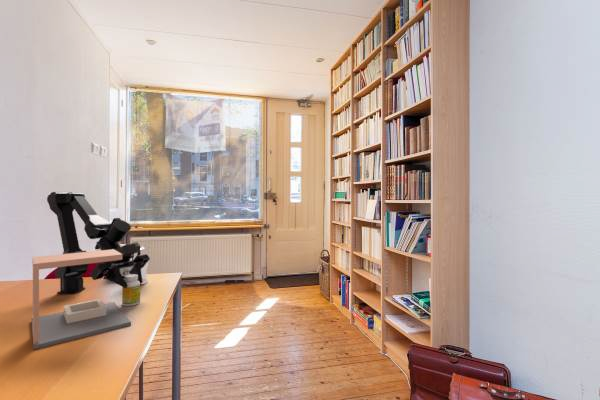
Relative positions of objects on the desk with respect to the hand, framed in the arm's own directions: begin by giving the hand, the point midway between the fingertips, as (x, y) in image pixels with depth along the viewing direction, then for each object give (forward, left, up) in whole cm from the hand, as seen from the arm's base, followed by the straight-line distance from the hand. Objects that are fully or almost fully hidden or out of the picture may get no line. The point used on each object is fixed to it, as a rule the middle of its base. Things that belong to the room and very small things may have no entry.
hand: (134, 285), depth 103 cm
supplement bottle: (-1, +1, -7) cm, 7 cm away
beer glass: (-12, +25, -7) cm, 28 cm away
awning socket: (-7, -16, -7) cm, 18 cm away
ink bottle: (-26, +35, -7) cm, 44 cm away
